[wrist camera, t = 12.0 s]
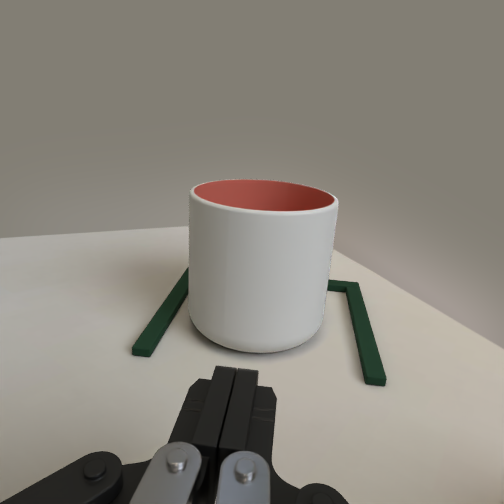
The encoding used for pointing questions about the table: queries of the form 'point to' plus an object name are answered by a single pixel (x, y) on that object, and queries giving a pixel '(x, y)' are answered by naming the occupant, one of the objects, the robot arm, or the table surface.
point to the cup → (259, 262)
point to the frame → (355, 300)
